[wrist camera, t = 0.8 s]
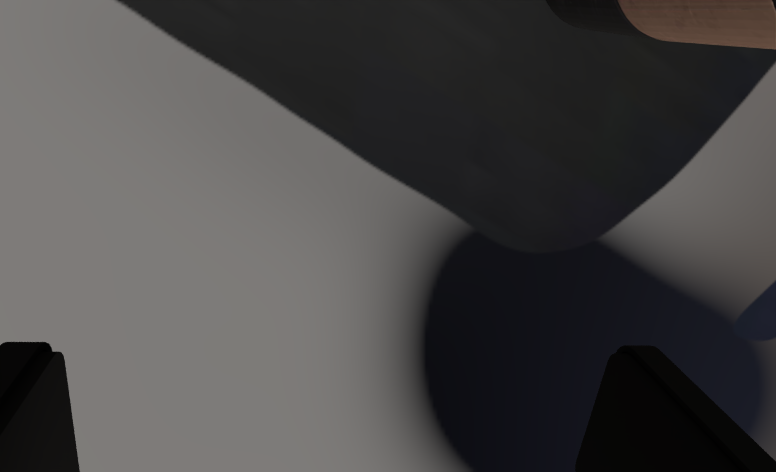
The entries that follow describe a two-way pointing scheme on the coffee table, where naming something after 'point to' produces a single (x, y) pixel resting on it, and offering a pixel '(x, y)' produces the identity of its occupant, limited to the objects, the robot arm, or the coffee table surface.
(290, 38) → the coffee table surface
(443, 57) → the coffee table surface
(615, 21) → the travel mug
